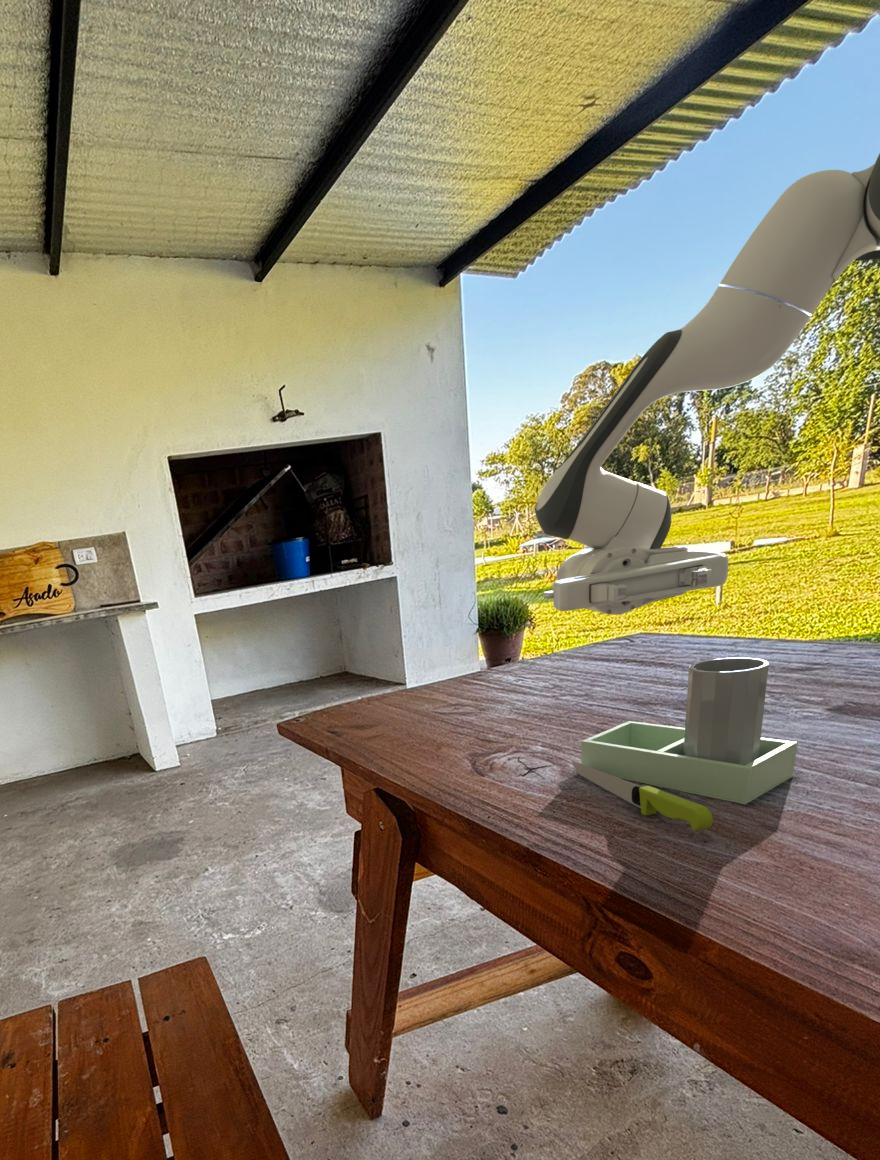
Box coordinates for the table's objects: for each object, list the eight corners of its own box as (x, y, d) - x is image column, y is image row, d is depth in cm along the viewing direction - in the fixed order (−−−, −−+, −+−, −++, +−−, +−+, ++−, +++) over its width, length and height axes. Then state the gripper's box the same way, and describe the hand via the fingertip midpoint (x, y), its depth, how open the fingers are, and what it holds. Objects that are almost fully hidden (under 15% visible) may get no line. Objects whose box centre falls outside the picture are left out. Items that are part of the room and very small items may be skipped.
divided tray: (628, 751, 78) (629, 720, 77) (793, 779, 63) (798, 741, 62) (581, 773, 74) (581, 741, 73) (744, 808, 60) (748, 768, 58)
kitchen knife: (567, 783, 75) (566, 760, 74) (577, 781, 75) (576, 758, 74) (699, 843, 54) (700, 811, 53) (713, 840, 54) (714, 808, 53)
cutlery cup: (703, 762, 69) (711, 656, 65) (769, 773, 64) (782, 658, 60) (669, 779, 67) (675, 670, 62) (735, 792, 61) (746, 673, 57)
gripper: (538, 571, 87) (570, 574, 74) (695, 543, 83) (757, 541, 71) (539, 617, 89) (571, 627, 76) (692, 591, 86) (752, 597, 73)
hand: (662, 585), depth 73 cm, fingers open, 8 cm apart
